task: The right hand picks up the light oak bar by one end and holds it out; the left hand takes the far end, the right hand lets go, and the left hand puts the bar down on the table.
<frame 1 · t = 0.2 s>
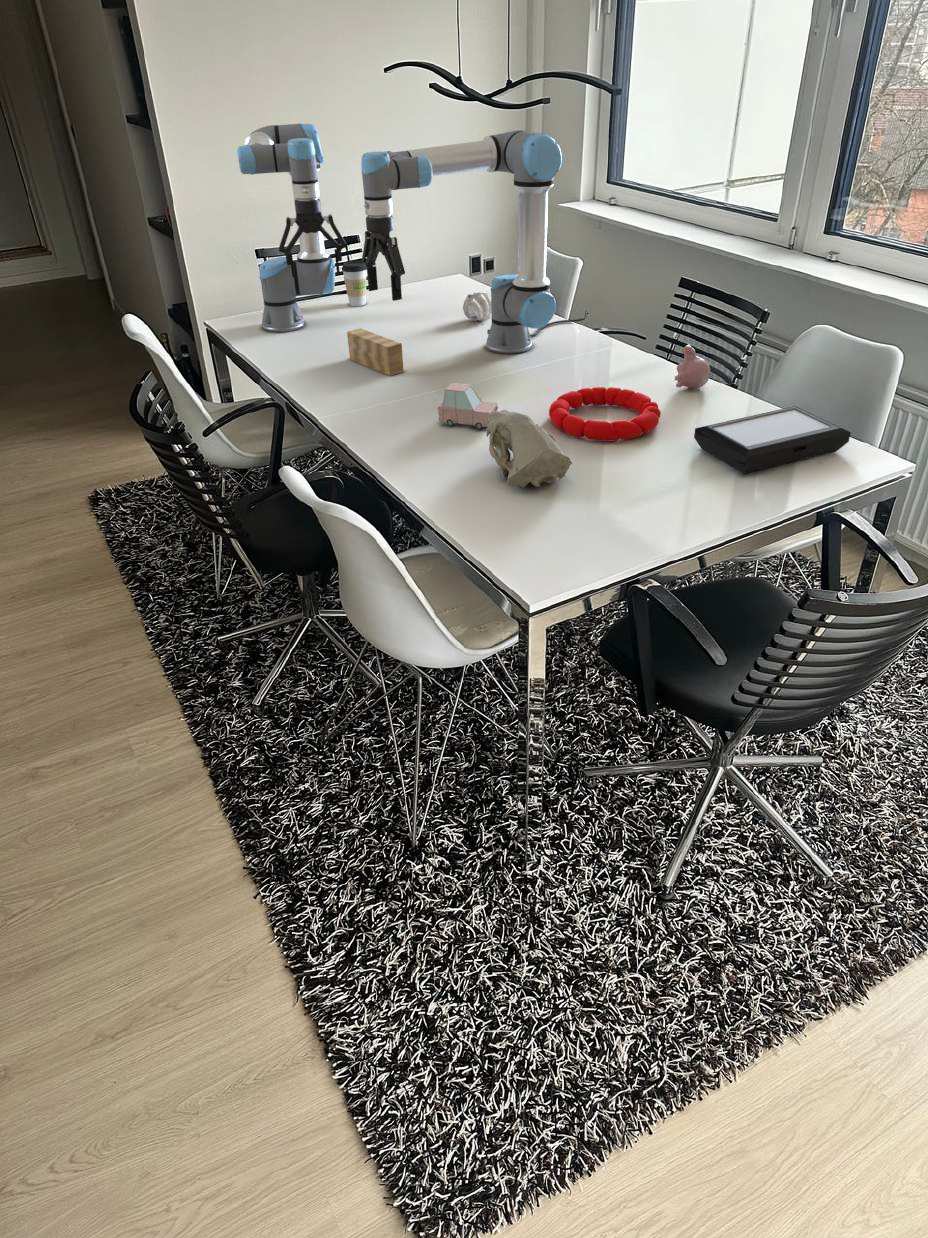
left hand: (316, 274, 272), 29 cm above the table, tool pointing down, fingers open, 13 cm apart
right hand: (385, 294, 257), 27 cm above the table, tool pointing down, fingers open, 13 cm apart
seashell: (479, 320, 326), on the table
toy car: (468, 423, 246), on the table
electronic device: (768, 451, 225), on the table
figurine: (690, 388, 263), on the table
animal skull: (520, 470, 220), on the table
coffee cup: (357, 304, 349), on the table
decorative ring: (603, 422, 244), on the table
bar: (376, 365, 288), on the table
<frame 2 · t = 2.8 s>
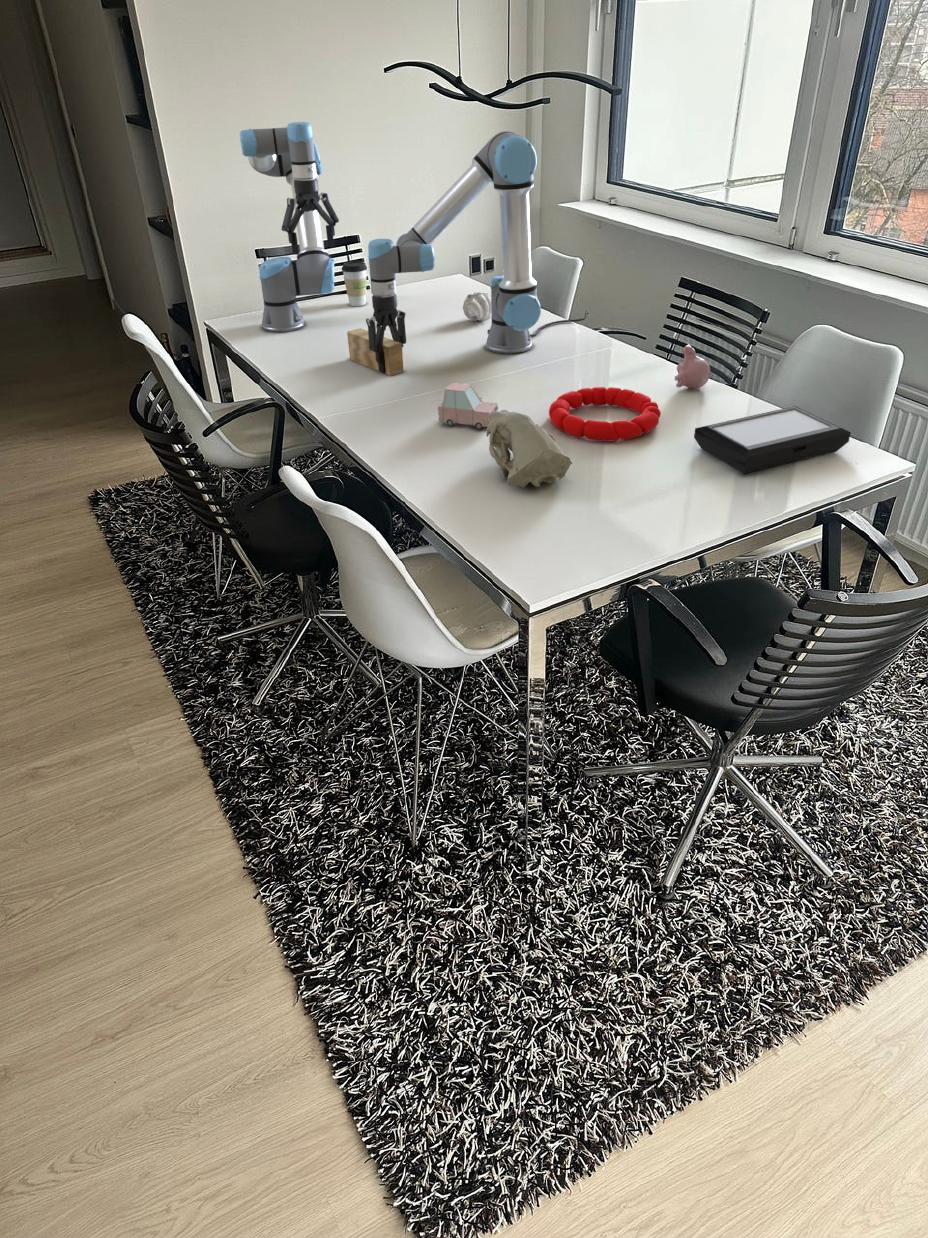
left hand: (313, 250, 291), 31 cm above the table, tool pointing down, fingers open, 13 cm apart
right hand: (389, 369, 283), 0 cm above the table, tool pointing down, fingers closed on bar, 5 cm apart
bar: (376, 365, 288), on the table, touching right hand
everything else where it was.
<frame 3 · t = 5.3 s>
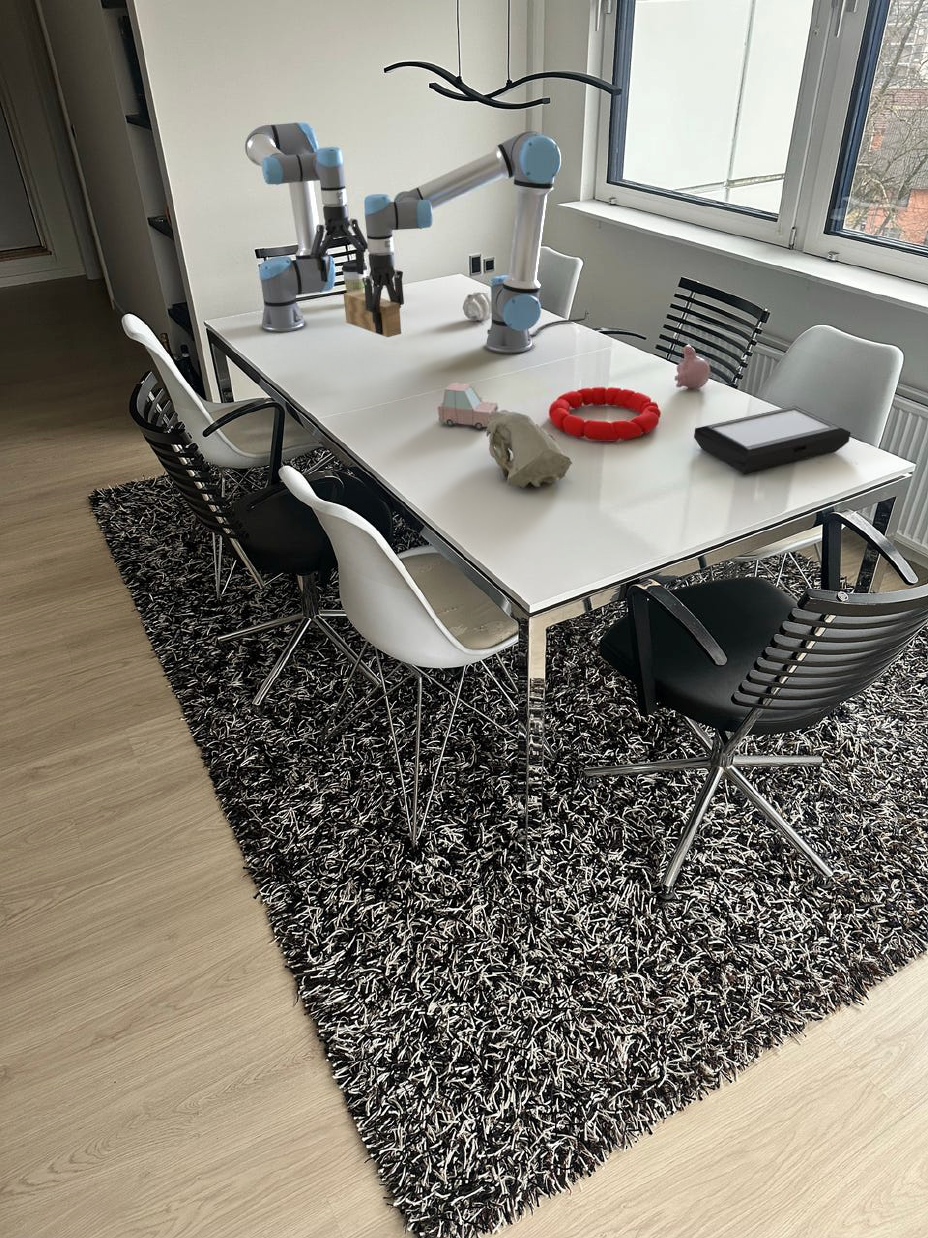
left hand: (342, 277, 283), 25 cm above the table, tool pointing down, fingers open, 13 cm apart
right hand: (387, 331, 276), 13 cm above the table, tool pointing down, fingers closed on bar, 5 cm apart
bar: (373, 327, 281), point 12 cm above the table, touching right hand
everything else where it was.
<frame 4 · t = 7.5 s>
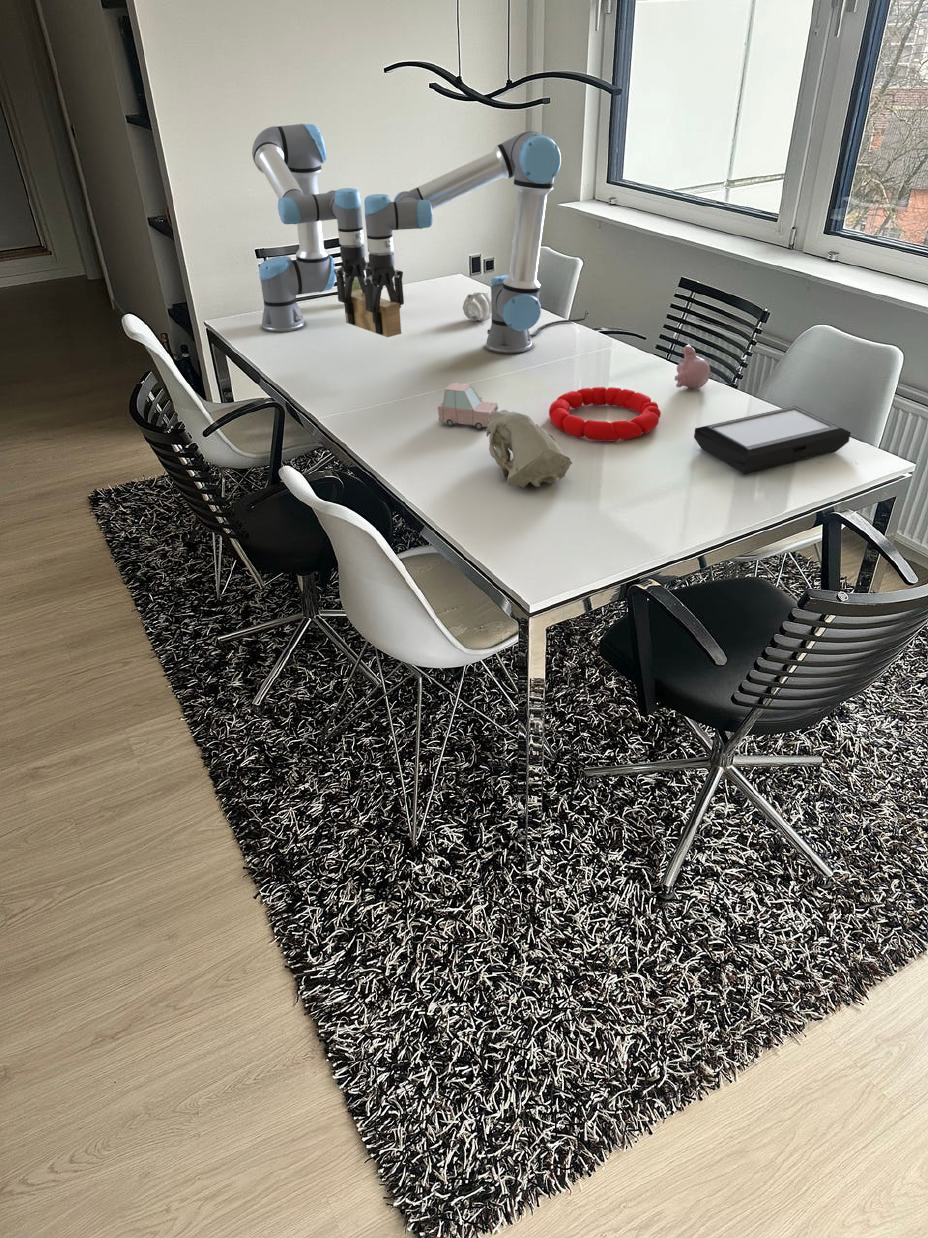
left hand: (359, 321, 286), 13 cm above the table, tool pointing down, fingers closed on bar, 5 cm apart
right hand: (387, 331, 276), 13 cm above the table, tool pointing down, fingers closed on bar, 5 cm apart
bar: (373, 327, 281), point 12 cm above the table, touching left hand, right hand
everything else where it was.
when the right hand's fingers open (13 cm above the table, at t = 8.2 s): bar stays where it is, held by the left hand.
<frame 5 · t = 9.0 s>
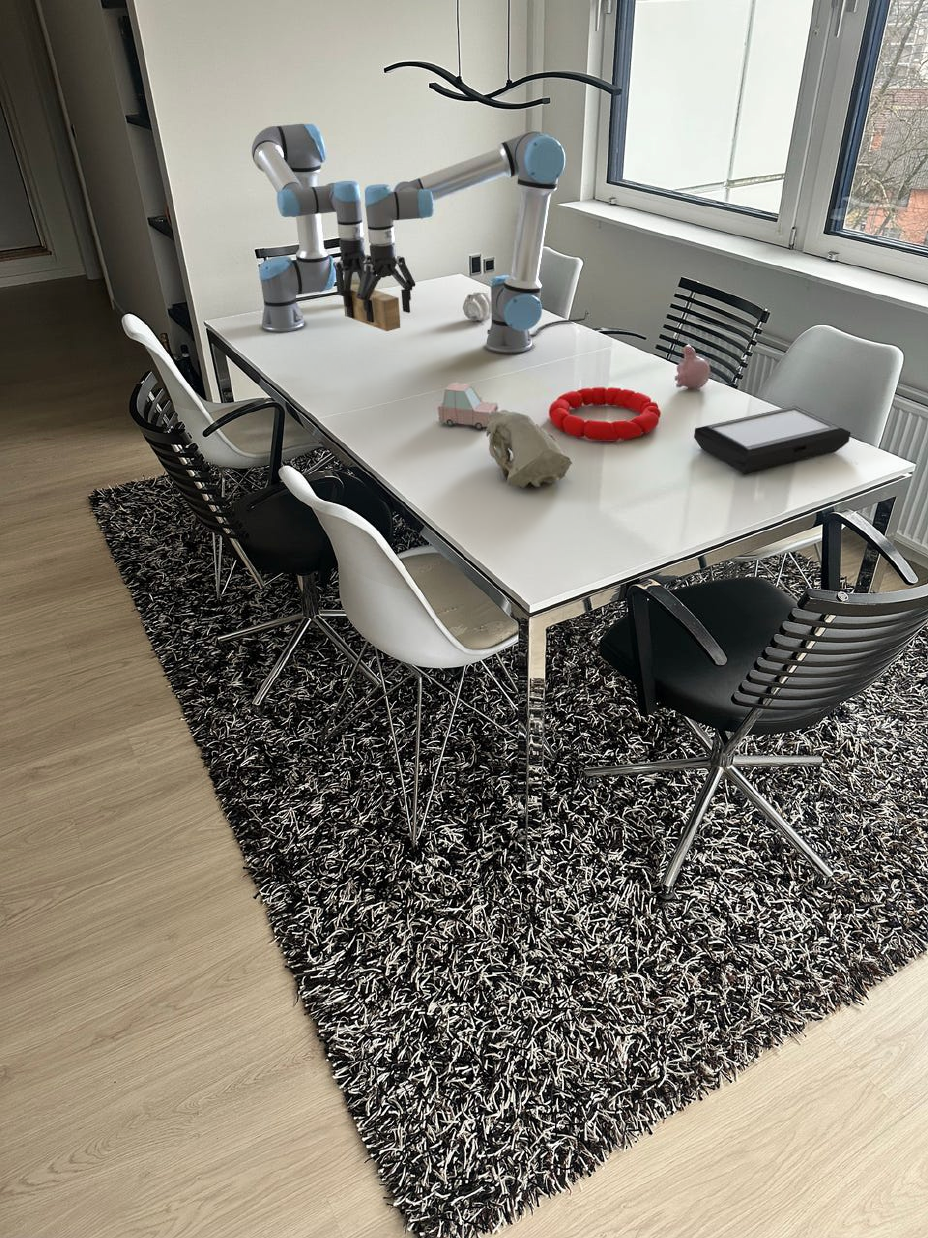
left hand: (358, 314, 285), 15 cm above the table, tool pointing down, fingers closed on bar, 5 cm apart
right hand: (388, 316, 273), 17 cm above the table, tool pointing down, fingers open, 13 cm apart
bar: (372, 321, 280), point 14 cm above the table, touching left hand
everything else where it was.
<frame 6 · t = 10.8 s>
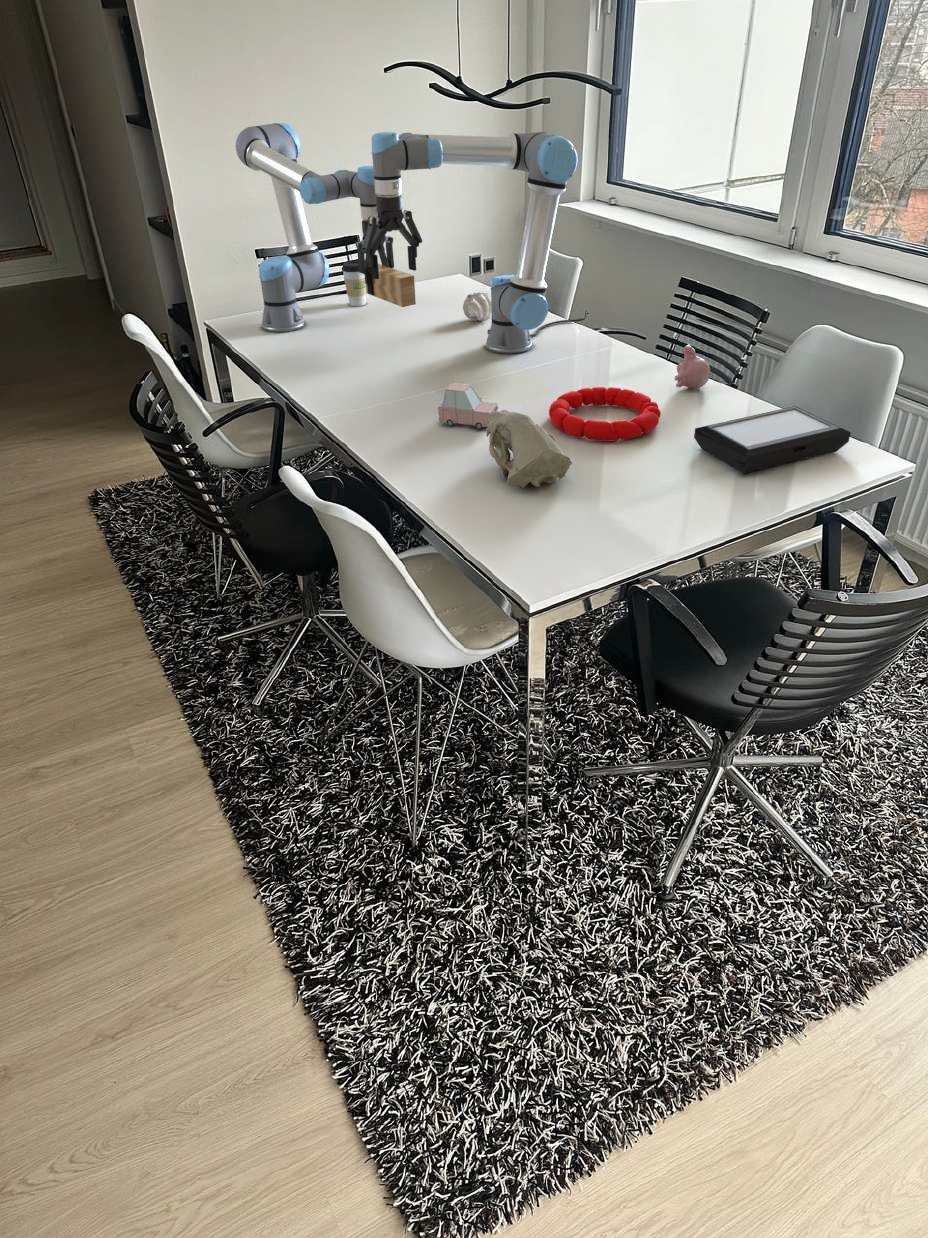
left hand: (378, 292, 304), 15 cm above the table, tool pointing down, fingers closed on bar, 5 cm apart
right hand: (394, 273, 262), 31 cm above the table, tool pointing down, fingers open, 13 cm apart
bar: (390, 298, 299), point 15 cm above the table, touching left hand
everything else where it was.
when the left hand's fingers open (2 cm above the table, at t = 14.2 s): bar drops 1 cm, on the table.
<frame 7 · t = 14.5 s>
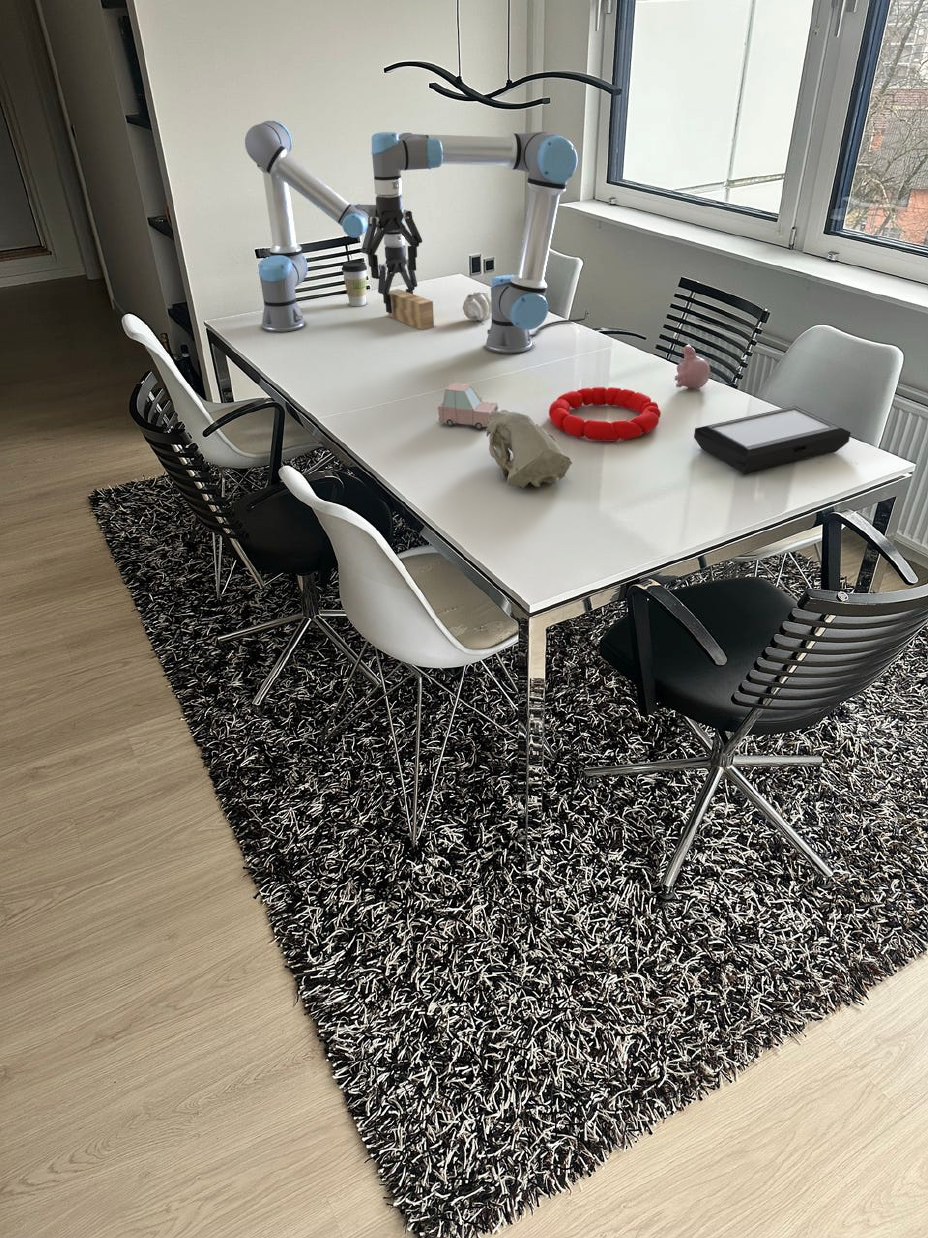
left hand: (399, 309, 331), 3 cm above the table, tool pointing down, fingers open, 8 cm apart
right hand: (394, 273, 262), 31 cm above the table, tool pointing down, fingers open, 13 cm apart
bar: (410, 321, 327), on the table
everything else where it was.
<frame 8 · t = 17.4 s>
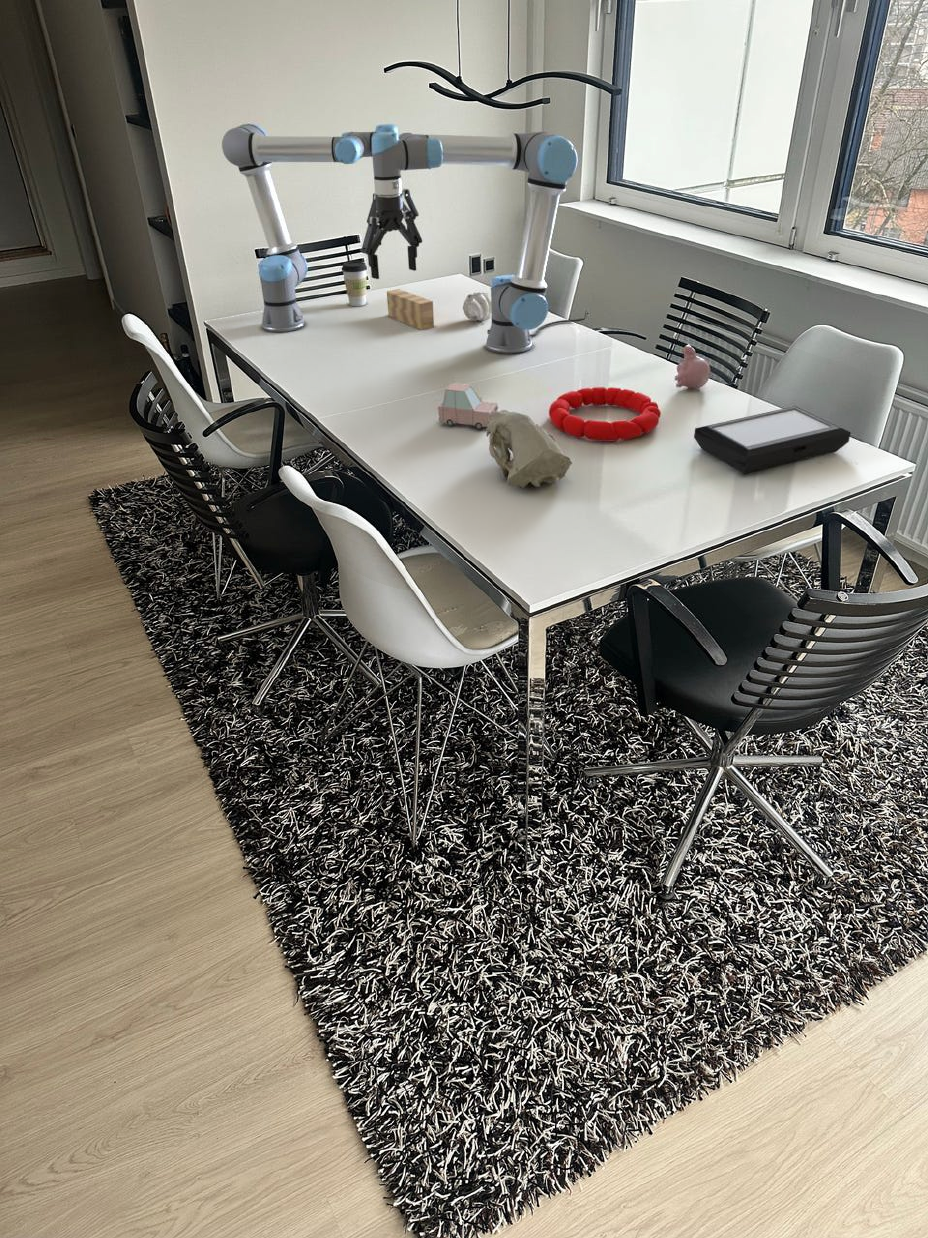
left hand: (394, 241, 317), 26 cm above the table, tool pointing down, fingers open, 13 cm apart
right hand: (394, 273, 262), 31 cm above the table, tool pointing down, fingers open, 13 cm apart
nothing on the table moved.
at the end: bar inside the target area (7.6 cm from its centre), on the table; the left hand is holding nothing; the right hand is holding nothing; bar at rest at the end (0.0 cm/s) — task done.
